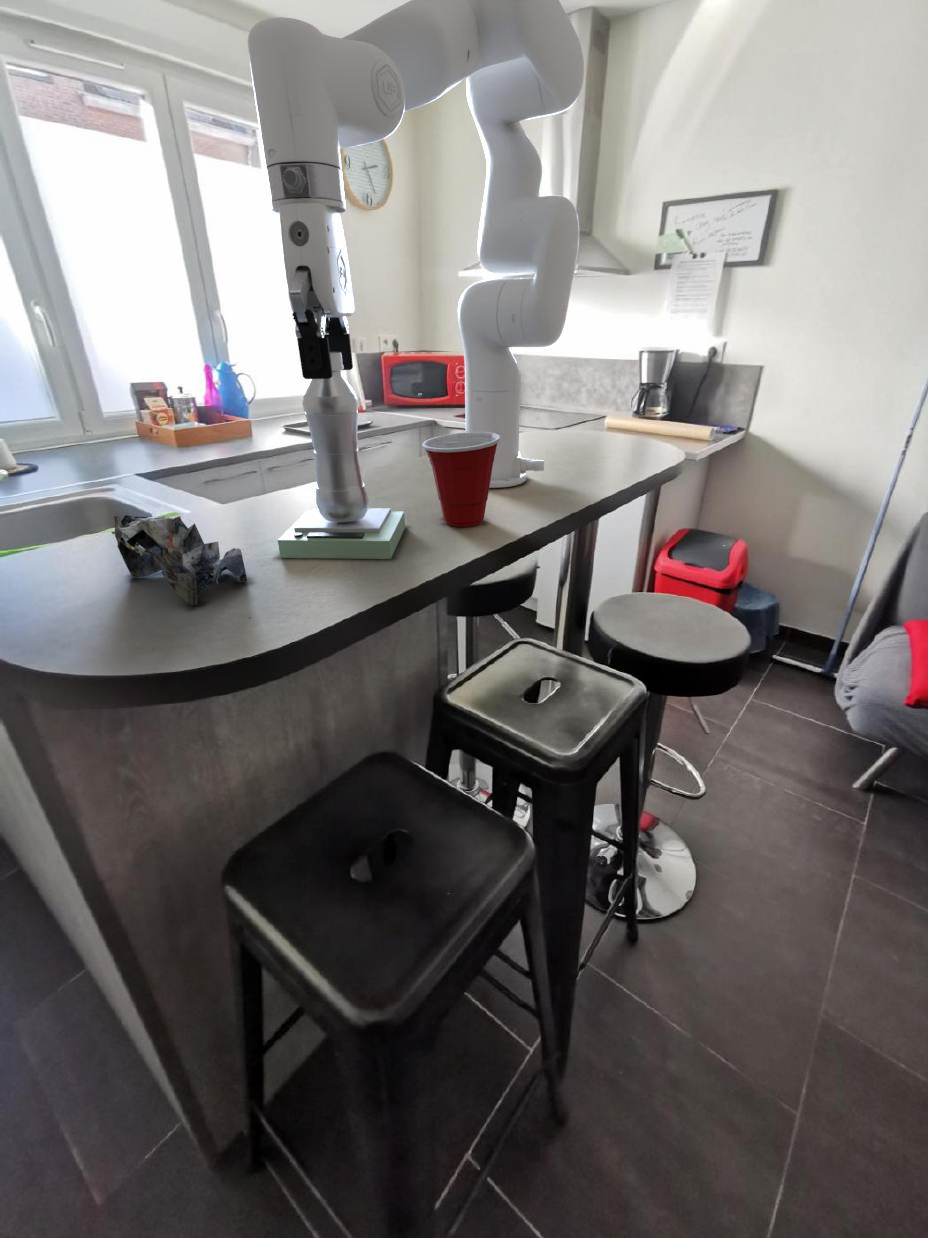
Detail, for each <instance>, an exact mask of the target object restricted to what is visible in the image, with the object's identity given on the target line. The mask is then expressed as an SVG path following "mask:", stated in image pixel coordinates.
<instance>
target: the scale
mask: <svg viewBox="0 0 928 1238" xmlns="http://www.w3.org/2000/svg"><path fill="white" fill-rule="evenodd" d="M405 517H406V516H405V511H403V510H402V511H400V510H399V511H397V510H396V511H393V510H392V509H391V508H389V507H368V511H367V513H366V515H365V516H364V517H363V518H361V519H359V520H355V521H350V522H332V521H328V520H325V519H324V518H323V517H322V515H321V514H320V512H319V509H318V507H313V508H312V509H311V510H306V511H305V512H304V513H303V514H302V515H301V516H300V517H299V518H298V519H297V520H296V521H295V522H294V523H293V524H292V525H291V526H290V527H289V528H288V529H287V530H286V531H285V532H284V533H283V534H282V535H281V536H280V537H279V538H278V539H277V544H278V551H279V557H280V559H341V560H342V559H344V560H345V559H346V560H347V559H349V560H350V559H351V560H352V559H353V560H391V559H392V558H393V555H394V553H395V550H396V549H397V546H398V545H399V542H400V540H401V537H402V536H403V533H404V531H405V529H406V520H405Z"/></svg>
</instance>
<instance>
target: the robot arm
mask: <svg viewBox="0 0 928 1238" xmlns="http://www.w3.org/2000/svg"><path fill="white" fill-rule="evenodd" d="M247 52H248V60H249V61H248V62H249V67H250V75H251V80H252V86H253V87H252V88H253V94H254V101H255V107H256V113H257V121H258V126H259V127H258V128H259V134H260V141H261V146H262V154H263V160H264V161H263V162H264V166H265V173H266V179H267V187H268V192H269V193H268V194H269V199H270V206H271V211H272V212H274V213H278V215H279V218H278V219H279V228H280V229H279V231H280V239H281V240H280V241H281V249H282V250H281V251H282V259H283V267H284V275H285V282H286V283H285V284H286V288H287V289H286V290H287V294H288V300H289V304H290V308H291V311H292V314H291V315H292V317H293V318H292V319H293V320H294V322H295V327H294V329H295V336H296V341H297V347H298V353H299V359H300V360H299V361H300V368H301V375H302V377H303V379H305V380H311V379H329V378H331V377H332V375H333V374H332V366H331V358H330V352H341V354H342V364H343V366H344V369H343V370H342V371H351V370H353V368H354V364H353V363H354V362H353V355H352V354H353V353H352V344H351V336H350V335H351V334H350V327H349V322H348V319H347V317H351V316H352V315H353V314H354V313H355V300H354V294H353V285H352V280H351V271H350V264H349V263H350V262H349V257H348V250H347V244H346V238H345V232H344V228H343V223H342V217H341V215H340V214H342V213H345V212H346V211H347V209H346V199H345V190H344V189H345V187H344V179H343V171H342V170H343V169H342V159H341V150H342V149H347V148H352V147H358V146H363V145H367V144H373V143H375V142H379V141H382V140H384V139H387V138H388V137H390V136H391V135H392V134H393V133H394V132H395V131H396V130H397V129H398V127H399V126H400V124H401V122H402V120H403V117H404V114H405V112H409V111H412V110H415V109H417V108H420V107H422V106H426V105H427V104H430V103H432V102H434V101H436V100H438V99H439V98H441V96H444V95H445V94H446V93H447V92H449V91H450V90H452V88H455V87H456V86H457V85H458V84H460V83H461V82H462V81H464V80H465V89H466V98H467V103H468V107H469V109H470V112H471V115H472V117H473V121H474V124H475V126H476V128H477V129H476V130H477V132H478V135H479V138H480V141H481V144H482V148H483V151H484V155H485V160H486V176H485V187H484V193H483V201H482V206H481V215H480V221H479V228H478V237H477V257H478V260H479V263H480V265H481V266H482V268H483V269H485V270H486V271H487V272H489V273H493V274H505V275H507V274H508V275H510V274H512V275H513V274H529V273H534V277H519V278H518V277H517V278H514V277H511V278H510V277H509V278H495V279H494V278H493V279H484V280H483V279H482V280H479V281H476V282H474V283H472V284H470V285H469V286H468V287H467V288H465V289H464V291H463V292H462V294H461V296H460V298H459V301H458V305H457V321H458V329H459V332H460V338H461V343H462V351H463V362H464V363H463V364H464V409H465V410H464V412H465V413H464V415H465V417H464V420H465V423H464V424H465V425H464V426H465V429H464V431H465V433H466V432H489V433H495V434H498V435H500V439H499V442H498V443H497V447H496V452H495V457H494V462H493V467H492V474H491V480H490V487H489V489H500V488H509V487H511V488H512V487H515V486H519V485H522V484H523V483H525V482H526V481H527V471H528V472H529V471H530V472H531V471H533V472H544V471H545V460H544V459H543V460H542V459H537V458H524V457H522V456H521V451H519V450H520V449H519V448H520V421H521V420H520V419H521V392H522V391H521V389H522V388H521V387H522V375H521V370H520V367H519V364H518V361H517V360H516V358H515V356H514V354H513V353H512V350H511V348H544V347H549V346H552V345H553V344H555V343H556V342H558V340H559V339H560V337H561V335H562V333H563V330H564V327H565V323H566V319H567V315H568V310H569V303H570V299H571V293H572V287H573V282H574V276H575V271H576V265H577V261H578V260H577V259H578V252H579V246H580V221H579V216H578V212H577V208H576V206H575V205H574V203H573V202H572V200H570V199H569V198H568V197H566V196H563V195H556V194H552V195H551V194H549V195H543V196H540V194H541V186H542V179H543V164H542V160H541V157H540V155H539V152H538V150H537V149H536V147H535V145H534V144H533V142H532V140H531V139H530V138H529V136H528V135H527V133H526V132H525V130H524V128H523V126H522V124H521V122H523V121H528V120H532V119H538V118H543V117H548V116H554V115H557V114H560V113H563V112H565V111H567V110H569V109H570V108H571V107H572V106H573V105H575V103H576V102H577V100H578V98H579V96H580V94H581V91H582V89H583V83H584V76H585V61H584V54H583V49H582V44H581V42H580V38H579V36H578V34H577V32H576V29H575V27H574V26H573V23H572V21H571V20H570V18H569V16H568V14H567V12H566V11H565V9H564V7H563V5H562V3H561V2H560V0H409V1H407V2H404V3H403V4H402V5H399V6H397V7H396V8H394V9H392V10H390V11H388V12H385V13H384V14H382V15H381V16H378V17H377V18H375V19H373V20H372V21H370V22H369V23H367V24H366V25H364V26H362V27H360V28H358V29H357V30H355V31H353V32H351V33H349V34H347V35H345V36H343V37H336V36H330V35H327V34H324V33H322V32H321V31H320V30H319V28H317V27H316V26H315V25H314V24H311V23H310V22H307V21H304V20H300V19H297V18H293V17H292V18H291V17H269V18H266V19H262V20H260V21H258V22H256V23H255V24H254V25H253V26H252V27H251V29H250V31H249V33H248V37H247Z"/></svg>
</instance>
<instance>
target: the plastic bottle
mask: <svg viewBox="0 0 928 1238" xmlns="http://www.w3.org/2000/svg"><path fill="white" fill-rule="evenodd" d="M330 358H331V366H332V374H333V375H332V377H331V378H329V379H309V382H308V383H307V385H306V387H305V390H304V392H303V394H302V401H301V404H302V408H303V411H304V416H305V419H306V423H307V426H308V430H309V433H310V438H311V444H312V447H313V453H314V461H315V473H316V475H315V476H316V488H315V490H316V491H315V501H316V502H315V503H316V507H317V508H318V509H319V512H320V514H321V515H322V517H323V518H324V519H325V520H328V521H332V522H350V521H355V520H359V519H361V518H363V517H364V516H365V515H366V513H367V511H368V508H369V499H370V498H369V494H368V491H367V487H366V484H365V482H364V477H363V472H362V466H361V461H360V454H359V453H360V452H359V448H358V447H359V435H358V431H359V429H358V428H359V427H358V426H359V425H358V424H359V411H358V409H359V400H358V398H357V397H358V396H357V394H356V392H355V390H354V389H353V387H352V386H351V385H350V383H349V382H348V380H346V378H345V377H344V376H343V373H342V371H344V370H343V369H344V366H343V364H342V354H341V352H330Z"/></svg>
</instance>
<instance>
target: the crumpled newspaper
mask: <svg viewBox="0 0 928 1238" xmlns="http://www.w3.org/2000/svg"><path fill="white" fill-rule="evenodd" d="M113 517H114V531H111V532H110V533H111V534H112V535H114V537H115V539H116V542H117V548H118V551H119V553H120V556H121V558H122V559H123V561H124V564H125V566H126V568H127V571H128V572H129V574H130V576H131V578H132V579H134V578H146V577H148V576H150V575H153V574H156V573H159V572H161V574H162V575H163V579H164V580H165V581H166V583H167V584H168V585H169V586H170V588H171V589H172V590H173V591H174V593H176V594H177V595H178V596H179V597H180V598H181V599H182V601H183V602H185V604H187V605H189V606H191V607H196V606H197V605H198V603H199V599H198V598H199V594H200V591H201V590H203V589H205V588H206V586H210V585H211V584H212V583H213V582H214V581H215V583H216V584H217V585H219V582H218V580H220V578H221V577H222V573H223V572H225V571H226V570H228V571H229V572H231V573H232V574H233V575H234V576H235V577H239V578H238V583H241V582H246V583H247V582H248V578H247V571H246V568H245V567H246V566H245V562H244V557H243V554H242V550H241V548H235V547H232V548H231V549H229V550H228V551H226V552H225V554H224V555H223V557H222V558H221V555H220V546H219V541H214V542H207V543H205V542H204V540H203V538H202V536H201V534H200V532H199V530H198V527H197V525H196V523H193V521H191V520H190V519H188V521H189V522H192V523H193V524H192V525H190V526H189V527H187V525H186V524H185V523H184V522H183V520H182V518H184V516H183V515H181V514H180V515H178V516H175V517H165V515H163V516H132V515H127V514H125V515H124V516H123V518H122V519H120V517H119V516H117V515H116V516H113ZM181 517H182V518H181Z"/></svg>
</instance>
